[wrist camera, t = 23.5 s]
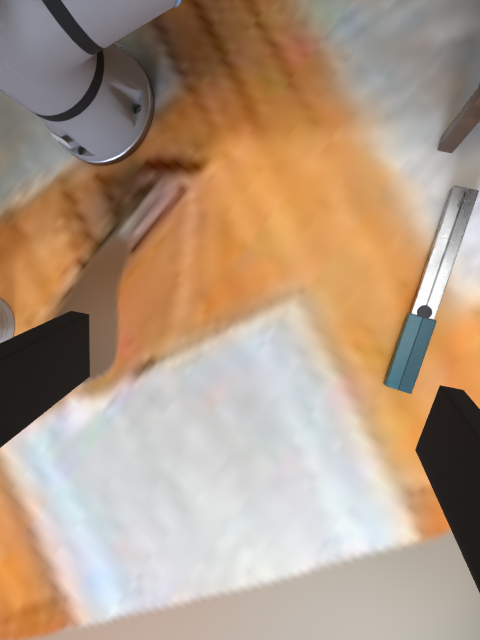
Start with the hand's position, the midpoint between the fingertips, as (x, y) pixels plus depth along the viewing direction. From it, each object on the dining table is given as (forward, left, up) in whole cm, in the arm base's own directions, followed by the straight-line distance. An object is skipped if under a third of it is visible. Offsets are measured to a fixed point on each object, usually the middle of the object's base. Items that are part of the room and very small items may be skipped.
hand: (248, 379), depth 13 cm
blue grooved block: (+4, +15, -32) cm, 36 cm away
